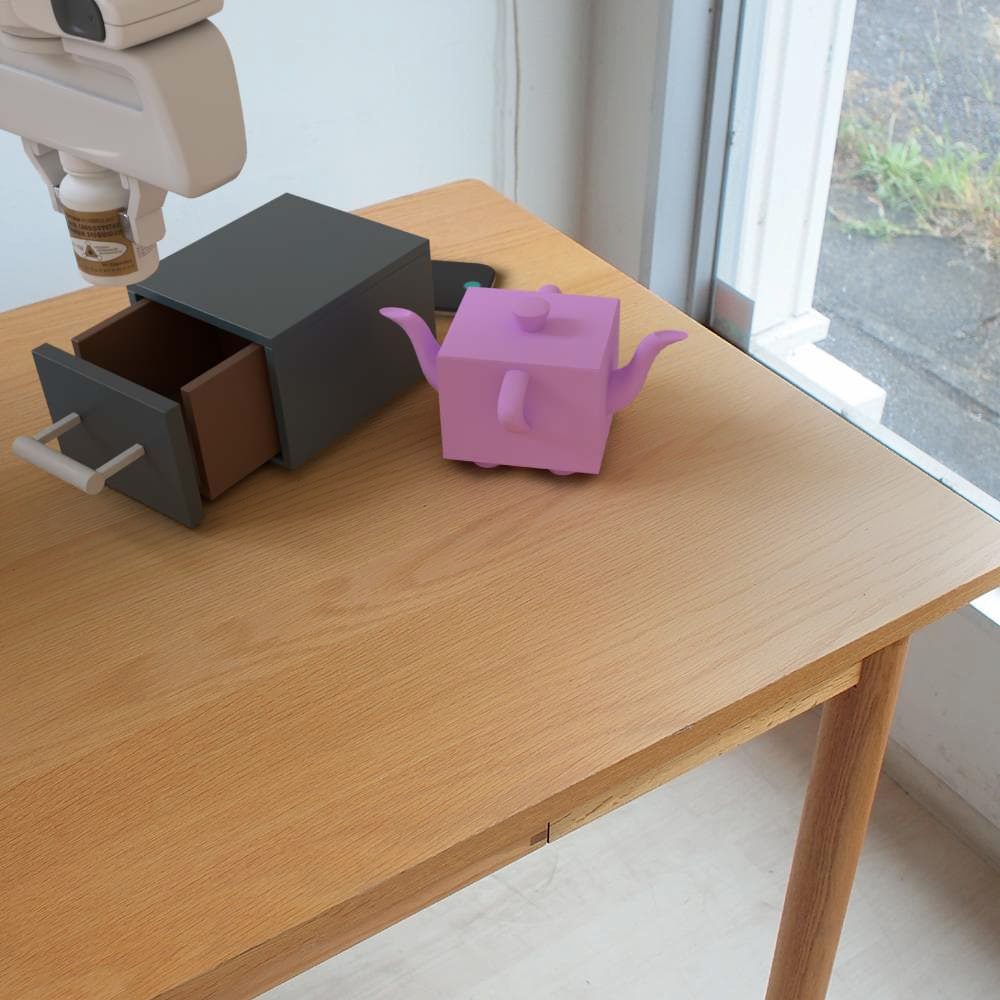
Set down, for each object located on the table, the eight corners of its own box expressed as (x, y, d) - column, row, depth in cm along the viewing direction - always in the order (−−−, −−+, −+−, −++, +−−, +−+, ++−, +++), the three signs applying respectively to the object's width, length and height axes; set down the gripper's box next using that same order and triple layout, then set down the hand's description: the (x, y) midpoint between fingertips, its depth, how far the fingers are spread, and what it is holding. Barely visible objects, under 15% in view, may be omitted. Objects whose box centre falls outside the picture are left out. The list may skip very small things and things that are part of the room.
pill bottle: (65, 285, 72) (30, 151, 67) (103, 247, 76) (73, 117, 71) (138, 293, 71) (108, 158, 66) (174, 255, 75) (147, 123, 70)
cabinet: (293, 475, 88) (271, 339, 81) (155, 410, 95) (124, 279, 88) (439, 368, 98) (429, 239, 91) (304, 316, 104) (286, 191, 98)
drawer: (134, 570, 80) (102, 453, 74) (5, 498, 86) (-33, 384, 80) (346, 417, 92) (331, 306, 86) (220, 363, 97) (199, 257, 92)
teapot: (576, 365, 97) (577, 231, 91) (682, 458, 88) (692, 317, 81) (389, 429, 92) (375, 291, 85) (482, 535, 83) (474, 391, 76)
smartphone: (479, 311, 102) (294, 296, 105) (480, 321, 102) (296, 306, 105) (499, 263, 108) (324, 251, 110) (500, 273, 108) (325, 260, 111)
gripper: (-132, -57, 66) (-54, 199, 75) (140, 20, 56) (194, 304, 65) (-26, -86, 70) (37, 159, 79) (247, -20, 60) (284, 253, 69)
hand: (110, 226), depth 72 cm, fingers closed on pill bottle, 4 cm apart
